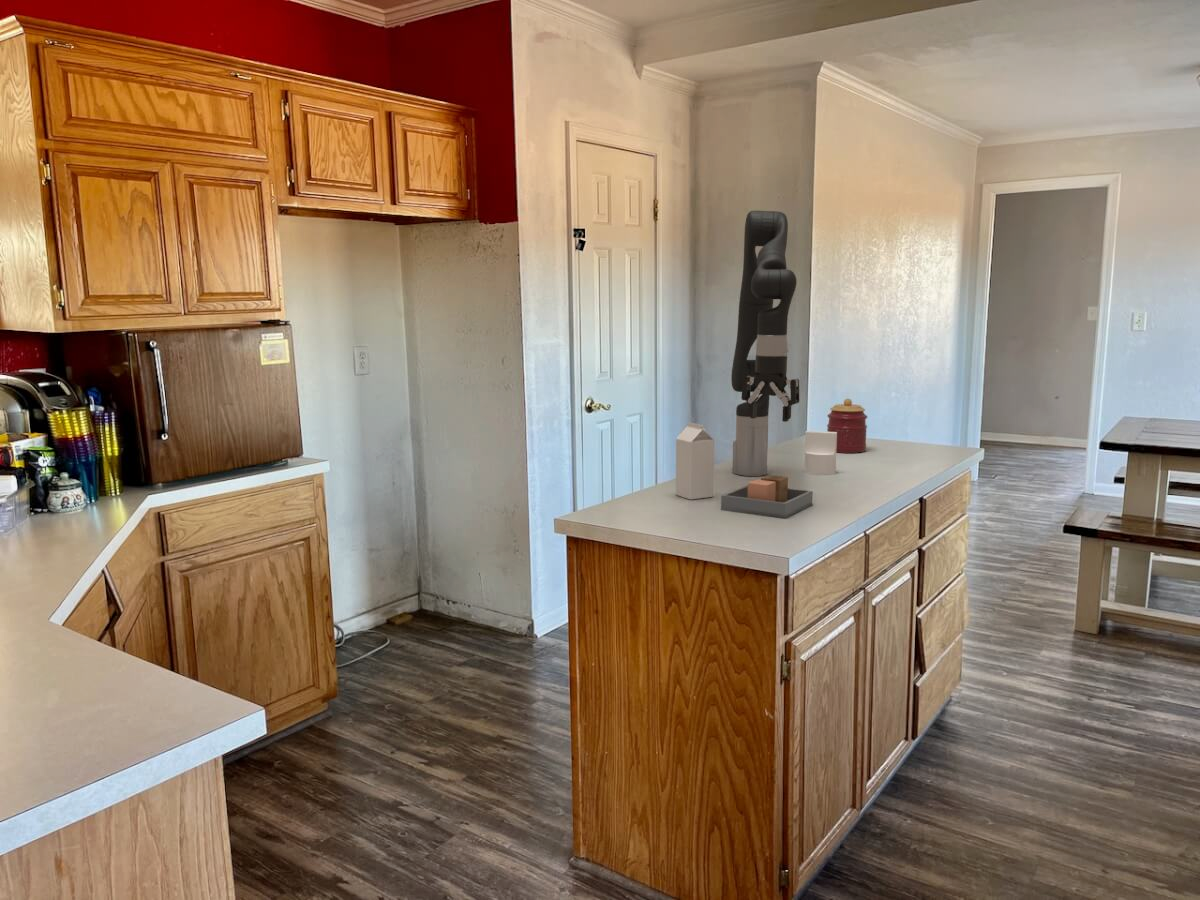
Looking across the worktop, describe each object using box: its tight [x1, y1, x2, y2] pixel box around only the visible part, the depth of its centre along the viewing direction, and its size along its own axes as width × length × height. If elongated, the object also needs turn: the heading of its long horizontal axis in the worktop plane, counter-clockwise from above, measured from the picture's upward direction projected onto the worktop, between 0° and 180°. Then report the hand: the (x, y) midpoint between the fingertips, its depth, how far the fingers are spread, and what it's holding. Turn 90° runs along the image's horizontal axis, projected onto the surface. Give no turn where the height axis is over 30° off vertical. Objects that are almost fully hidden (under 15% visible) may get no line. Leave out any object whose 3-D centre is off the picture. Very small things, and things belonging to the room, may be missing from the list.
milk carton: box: [675, 421, 715, 500], centre depth 227 cm, size 7×7×19 cm
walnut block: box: [760, 474, 789, 503], centre depth 218 cm, size 5×5×6 cm
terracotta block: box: [747, 479, 776, 502], centre depth 212 cm, size 5×5×6 cm
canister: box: [826, 398, 868, 454], centre depth 296 cm, size 13×13×18 cm
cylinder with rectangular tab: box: [803, 430, 837, 476], centre depth 259 cm, size 9×9×12 cm
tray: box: [720, 484, 814, 519], centre depth 215 cm, size 17×17×4 cm
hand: (769, 419), depth 216 cm, fingers open, 8 cm apart
